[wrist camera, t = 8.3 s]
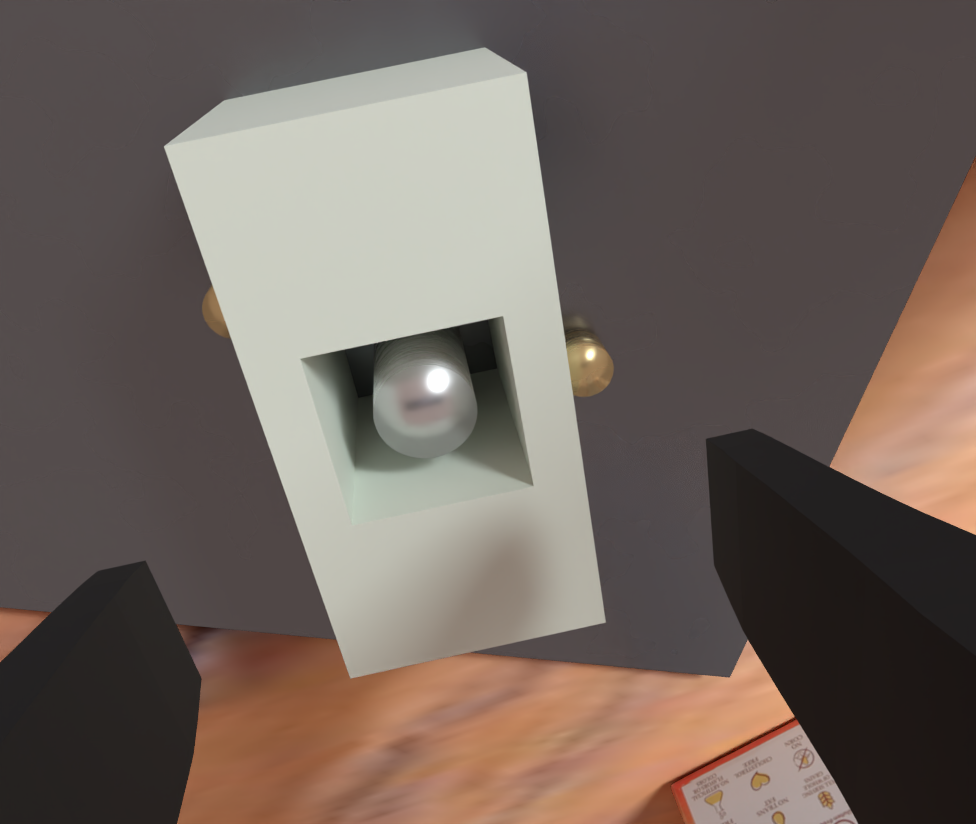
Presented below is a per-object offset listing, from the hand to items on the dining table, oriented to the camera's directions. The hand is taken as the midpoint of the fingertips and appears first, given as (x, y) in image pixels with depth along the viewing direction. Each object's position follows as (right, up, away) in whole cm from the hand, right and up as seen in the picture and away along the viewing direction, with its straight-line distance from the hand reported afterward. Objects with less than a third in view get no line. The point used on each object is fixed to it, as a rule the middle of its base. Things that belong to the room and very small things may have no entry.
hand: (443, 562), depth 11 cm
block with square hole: (-1, +4, +7) cm, 8 cm away
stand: (-1, +4, +8) cm, 9 cm away
